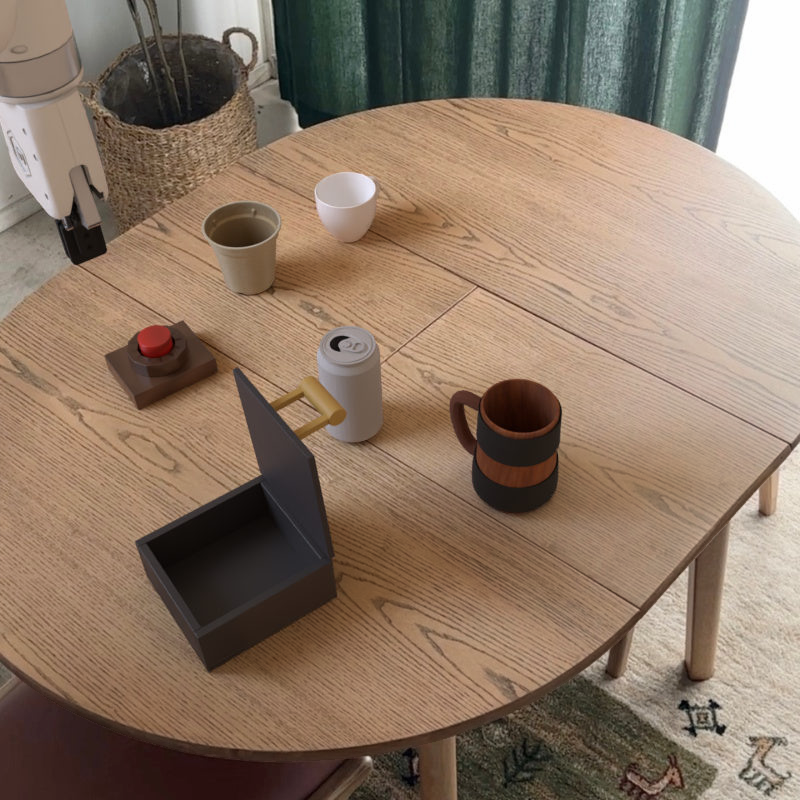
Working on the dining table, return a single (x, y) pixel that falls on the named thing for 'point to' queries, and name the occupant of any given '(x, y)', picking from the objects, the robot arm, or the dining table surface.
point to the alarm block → (161, 366)
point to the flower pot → (244, 244)
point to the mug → (511, 443)
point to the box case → (236, 571)
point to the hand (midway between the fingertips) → (87, 254)
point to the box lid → (291, 450)
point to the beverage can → (352, 381)
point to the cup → (347, 204)
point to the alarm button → (155, 341)
